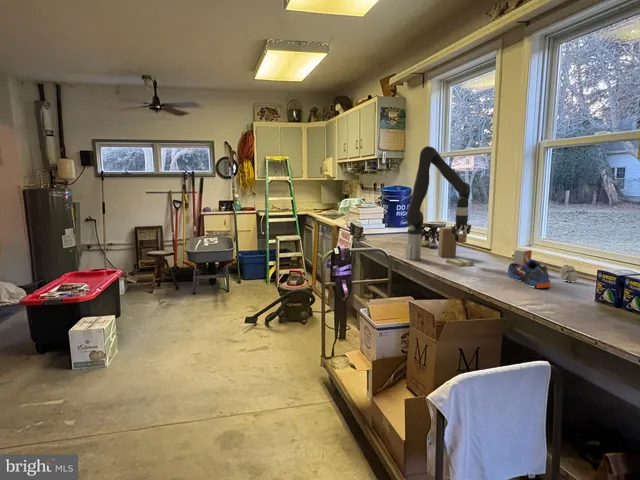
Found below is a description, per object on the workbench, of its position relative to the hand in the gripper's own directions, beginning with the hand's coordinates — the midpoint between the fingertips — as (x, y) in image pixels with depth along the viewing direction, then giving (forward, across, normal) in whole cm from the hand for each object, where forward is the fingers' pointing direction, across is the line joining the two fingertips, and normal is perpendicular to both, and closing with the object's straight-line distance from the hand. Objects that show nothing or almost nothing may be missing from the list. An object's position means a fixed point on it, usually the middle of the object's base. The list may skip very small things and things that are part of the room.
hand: (460, 240), depth 264 cm
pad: (+15, 0, 0) cm, 15 cm away
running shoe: (+15, +6, -51) cm, 53 cm away
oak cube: (+1, 0, 0) cm, 1 cm away
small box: (+15, +21, -30) cm, 40 cm away
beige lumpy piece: (+15, +26, -57) cm, 65 cm away
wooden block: (+15, +8, +24) cm, 29 cm away
